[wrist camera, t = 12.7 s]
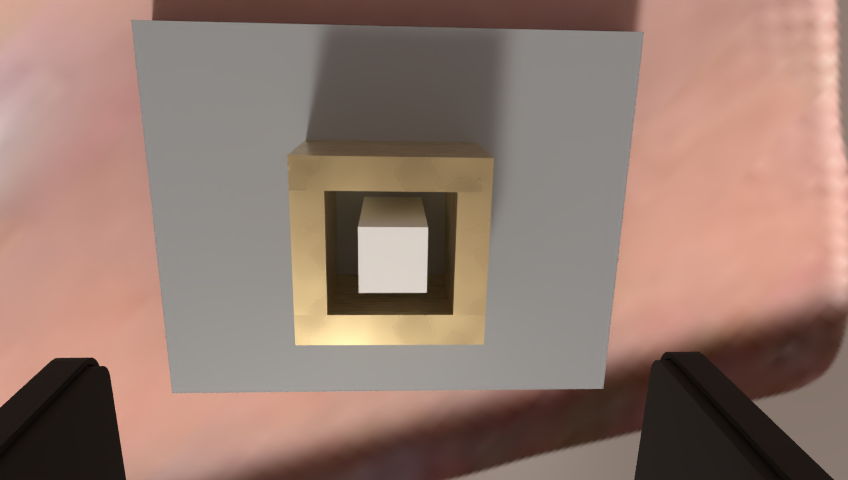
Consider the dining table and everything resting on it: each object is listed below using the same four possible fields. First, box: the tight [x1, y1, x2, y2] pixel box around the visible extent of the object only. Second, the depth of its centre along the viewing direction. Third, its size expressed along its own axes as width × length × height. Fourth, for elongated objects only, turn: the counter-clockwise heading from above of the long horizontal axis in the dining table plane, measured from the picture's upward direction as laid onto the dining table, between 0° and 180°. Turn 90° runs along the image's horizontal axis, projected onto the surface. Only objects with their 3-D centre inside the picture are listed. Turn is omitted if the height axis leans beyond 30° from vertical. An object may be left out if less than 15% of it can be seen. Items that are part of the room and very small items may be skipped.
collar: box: [287, 140, 494, 345], centre depth 23 cm, size 7×7×4 cm
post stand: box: [131, 20, 644, 393], centre depth 24 cm, size 16×20×7 cm
